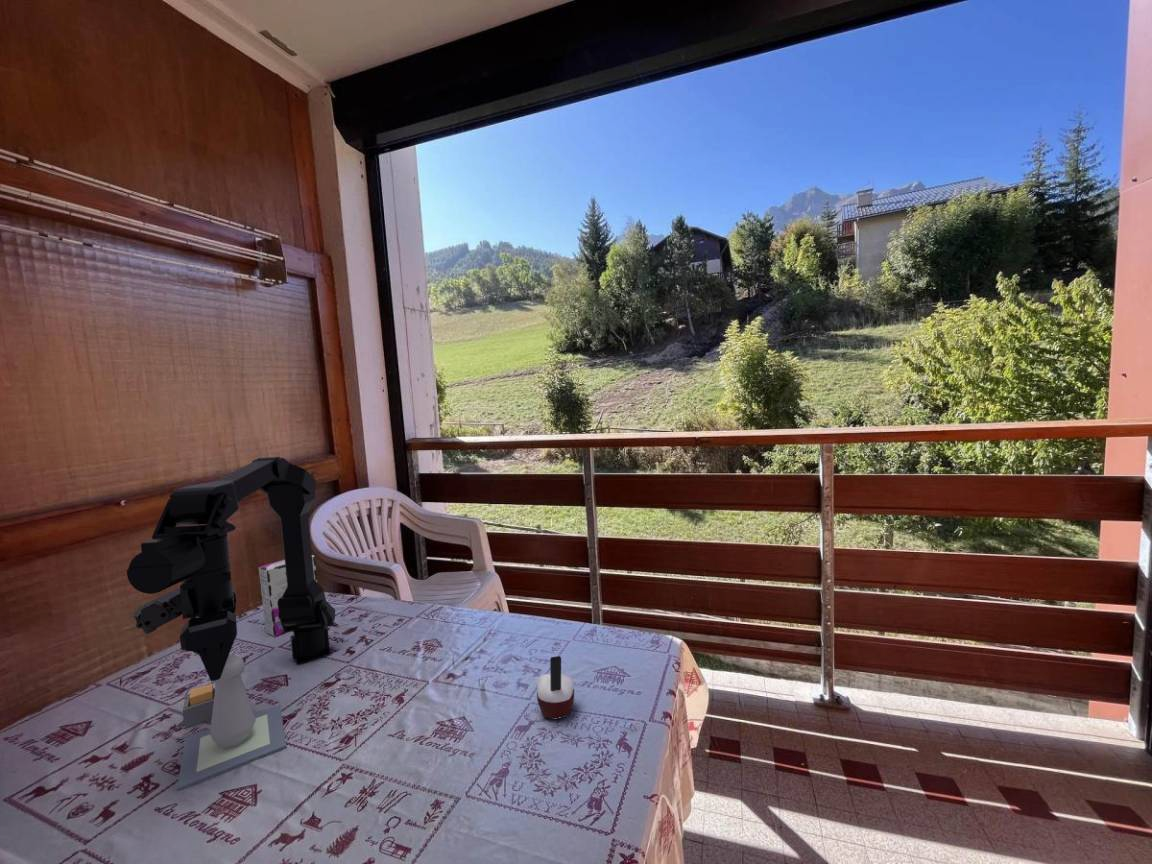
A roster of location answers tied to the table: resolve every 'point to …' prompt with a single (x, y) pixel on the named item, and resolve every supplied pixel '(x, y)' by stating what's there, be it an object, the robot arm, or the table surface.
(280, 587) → the candy bar box
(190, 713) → the button housing
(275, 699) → the table surface
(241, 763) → the grey flat square slab
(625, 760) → the table surface
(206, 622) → the robot arm
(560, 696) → the cocoa
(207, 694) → the push button
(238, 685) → the salt shaker
